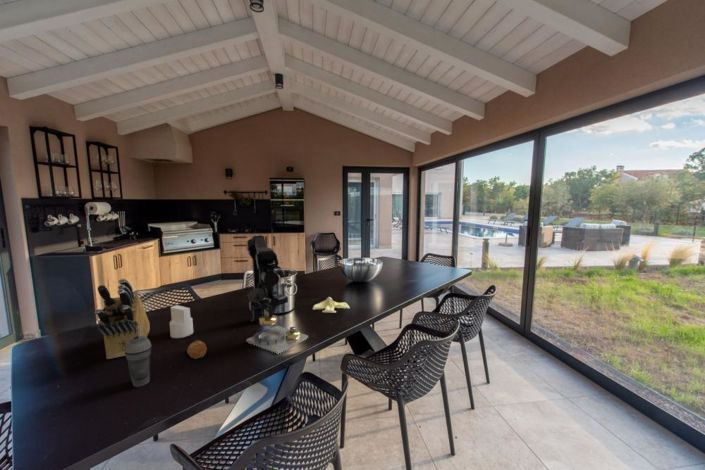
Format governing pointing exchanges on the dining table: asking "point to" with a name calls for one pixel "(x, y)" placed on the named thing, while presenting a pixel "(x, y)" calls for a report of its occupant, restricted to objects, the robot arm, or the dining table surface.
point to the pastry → (197, 349)
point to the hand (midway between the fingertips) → (268, 316)
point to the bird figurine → (330, 305)
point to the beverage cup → (139, 359)
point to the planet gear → (267, 318)
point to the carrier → (277, 339)
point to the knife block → (121, 319)
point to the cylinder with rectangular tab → (180, 322)
